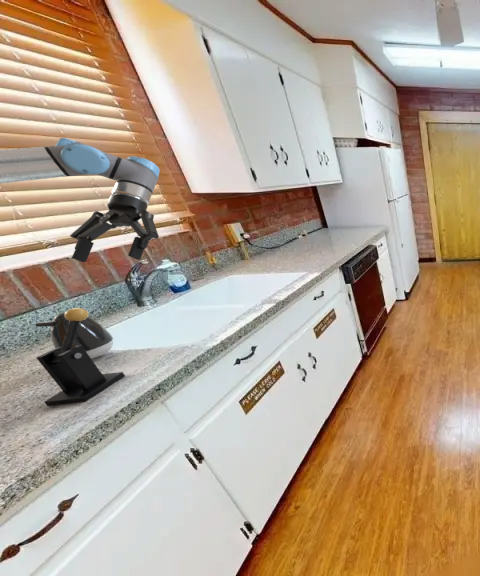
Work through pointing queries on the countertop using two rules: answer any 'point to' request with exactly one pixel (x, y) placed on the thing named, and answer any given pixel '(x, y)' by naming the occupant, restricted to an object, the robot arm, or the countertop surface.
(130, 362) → the countertop surface
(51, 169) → the robot arm
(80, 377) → the black lever base
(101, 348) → the dark glossy oval piece
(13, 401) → the countertop surface
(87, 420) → the countertop surface
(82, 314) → the tap lever
